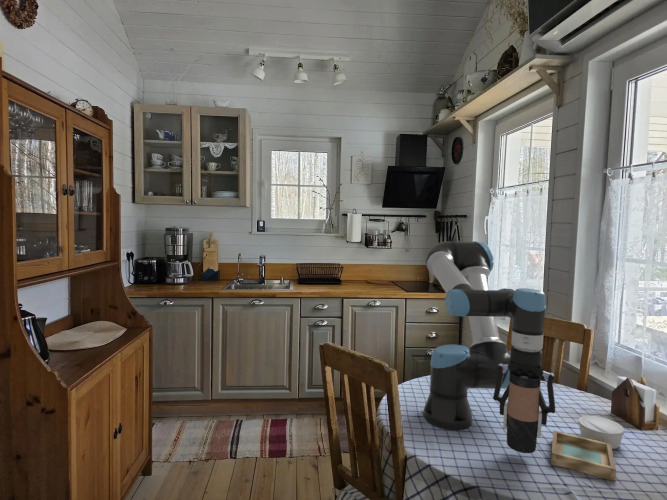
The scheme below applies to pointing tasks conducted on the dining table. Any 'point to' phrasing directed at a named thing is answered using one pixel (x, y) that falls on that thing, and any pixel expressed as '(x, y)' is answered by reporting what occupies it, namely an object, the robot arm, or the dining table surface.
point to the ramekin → (601, 430)
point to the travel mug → (523, 413)
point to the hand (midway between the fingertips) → (521, 430)
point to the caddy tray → (583, 455)
